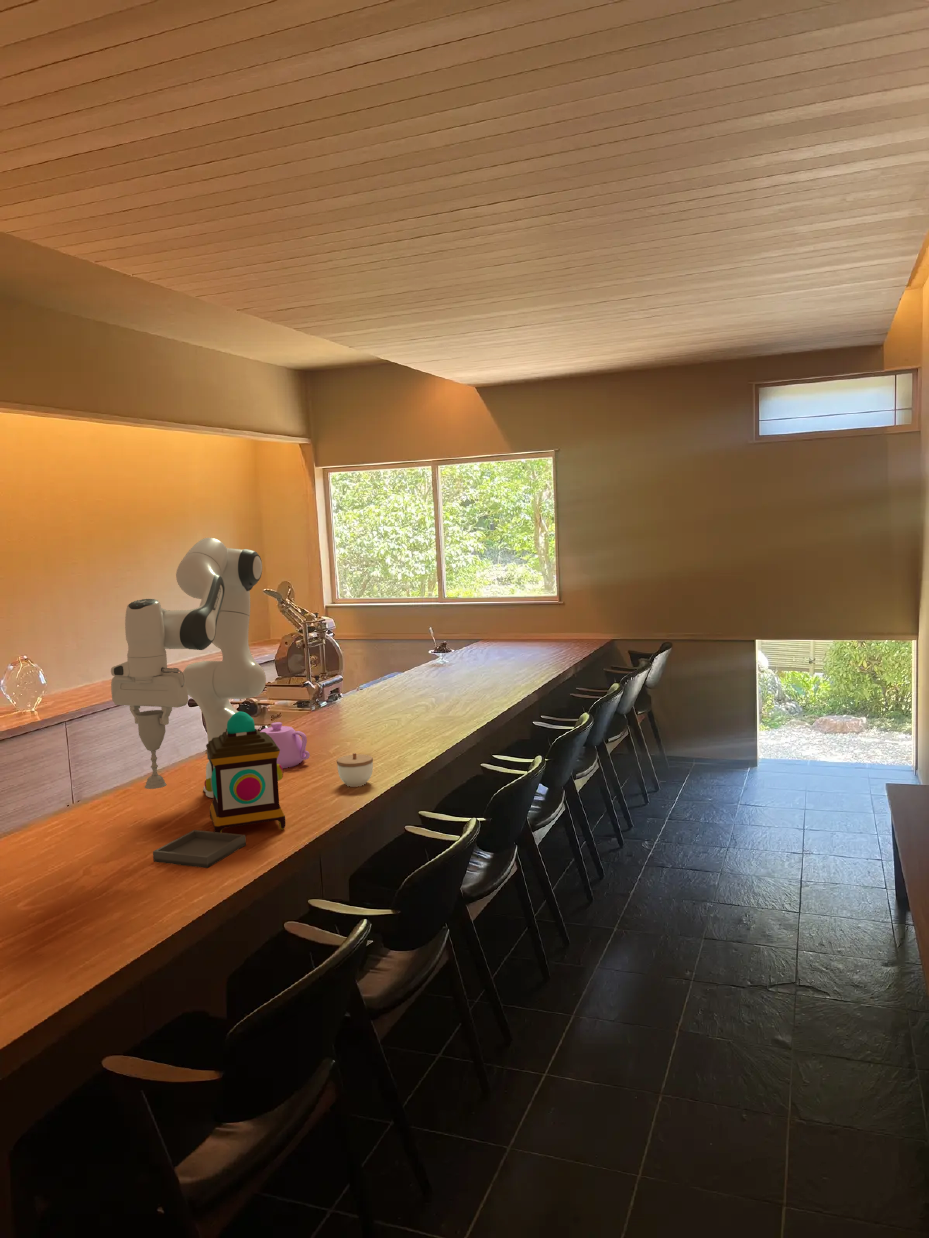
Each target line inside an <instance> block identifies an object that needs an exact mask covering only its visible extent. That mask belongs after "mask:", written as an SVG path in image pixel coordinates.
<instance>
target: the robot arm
mask: <svg viewBox="0 0 929 1238" xmlns="http://www.w3.org/2000/svg"><path fill="white" fill-rule="evenodd" d="M262 572H263V561H262V558H261V556H260V554H259V553H258V552H257V551H255V550H251V549H247V548H244V549H242V548H241V549H240V548H231V547H227V546H226V545H225V543H223V542H222V541H221V540H219V539H218V538H214V537H205V538H202V539H200V540H198V542H196V543H195V544H194V545H193V546H192V547H191V548H190V549H189V550H188V551H187V552H186V554H185V556H184V557H183V558H182V559H181V561H180V563H179V564H178V566H177V569H176V573H175V576H176V577H175V578H176V583H177V585H178V587H179V588H180V589H181V590H182V591H183V593H185V594H186V595H188V596H189V597H191V598H193V599H198V600H201V601H200V603H199V606H198V607H196V608H193V609H185V610H183V609H181V610H179V609H178V610H177V609H176V610H167V609H165V608H163V607H162V606H161V603H160V600H159V599H155V598H142V599H137V600H134V601H131V602H130V603H129V604H127V605H126V610H125V620H124V629H125V640H126V643H127V647H128V648H127V649H128V650H127V655H126V656H127V657H126V658H127V661H125V662H122V663H120V664H117V665H115V666H112V667H111V669H110V673H111V676H113V677H112V679H111V682H110V684H111V685H110V688H111V689H110V692H111V699H112V702H113V703H114V705H116V706H129V711H130V713H131V714H132V716H133V717H134V723H135V724H136V725H138V719H137V717H136V715H135V714H136V713H139V712H141V711H140V709H141V707H155V708H156V707H157V708H159V707H160V708H161V709H160V710H162V711H164V712H163V715H162V717H161V718H159V724H160V725H165V726H167V725H169V724H170V720H169V717H170V715H171V713H172V711H173V708H180V707H185V706H186V705H188V703H189V697H190V698H191V699H193V701H194V702H195V703H196V704H197V706H198V708H199V709H200V711H201V713H202V715H203V718H204V722H205V726H206V733H207V735H206V736H207V743H208V742H209V741H211V740H212V738H215V737H219V736H220V735H222V734H223V732H226V729H227V722H228V720H229V719H230V718H231V717H232V715H234V714H235V713H237V712H239V711H238V710H237V709H236V708H235V707H234V706H233V705H232V703H231V701H230V699H231V700H243V699H244V700H245V699H249V698H250V699H251V698H255V697H258V696H260V695H261V693H262V692H263V691H264V689H265V686H266V682H267V676H266V672H265V670H264V669H263V666H261V665H260V664H259V663H258V662H257V661H256V660H255V658H254V656H253V655H252V652H251V649H250V645H249V629H250V628H249V627H250V616H251V593H250V592H251V590H252V589H253V587H254V586H256V584H258V582H259V581H260V579H261V578H262ZM210 645H213V646H215V647H217V648H218V649H219V650H220V651H221V654H222V660H202V661H198V662H194V663H190V664H188V665H187V666H186V667H185V668H184V669H183V671H182V670H180V668H179V667H173V668H171V667H168V657H167V651H166V650H193V651H194V650H195V651H204V650H206V649H207V648H208V647H210ZM206 755H207V756H206V759H207V760H208V762H207V763H206V766H205V780H206V779H208V778H211V776H212V768H211V759H210V756H209V753H208V750H207V749H206ZM203 791H204V793H205V796H206V797H208V798H212V799H213V791H212V792H209V791H207V790H206V789H205V785H204V786H203Z"/></svg>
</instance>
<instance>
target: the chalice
mask: <svg viewBox="0 0 929 1238" xmlns="http://www.w3.org/2000/svg"><path fill="white" fill-rule="evenodd" d="M163 712H164V711H162V709H154V710H153V709H152V710H143V711H140V712H139V713H136V714H135V715H136V717H137V719H138V724H137V727H138V728H137V730H138V737H139V738H140V740H141V743H142V744H143V746H144V747H145V749H146V750H147V751H148V752H150V753H151V757H150V761H151V765H150V768H151V770H152V772H151V773H152V774H151V776H149V777H148V778H147V779H146V782H145V785H144V789H146V790H156V789H161V788H162V789H163V788H164V787H166V786H168V785H167V783H166V782H165V781H166V780H165V779H164V777H163V776H162V775H159V773H158V769H157V768H158V767H159V764H157V760H158V757H157V754H156V752H157V750H158V751H159V750H160V748H161V745H162V744H163V741H164V739H165V735H166V725H160V724H159V718H161V717H162V715H163Z"/></svg>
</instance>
